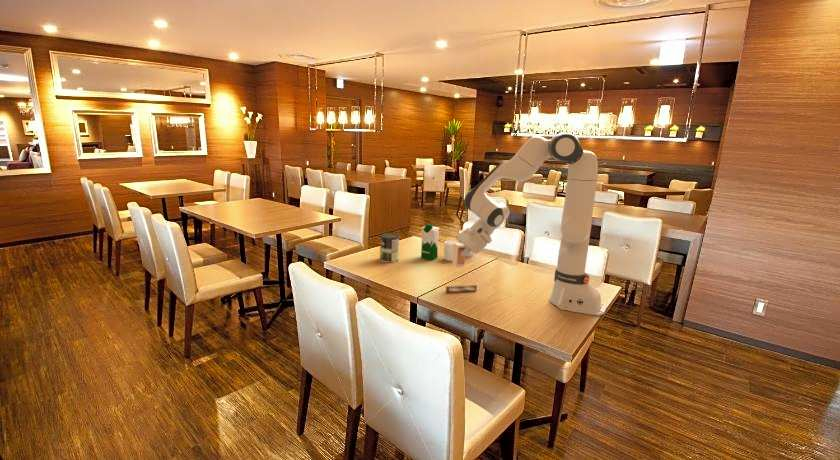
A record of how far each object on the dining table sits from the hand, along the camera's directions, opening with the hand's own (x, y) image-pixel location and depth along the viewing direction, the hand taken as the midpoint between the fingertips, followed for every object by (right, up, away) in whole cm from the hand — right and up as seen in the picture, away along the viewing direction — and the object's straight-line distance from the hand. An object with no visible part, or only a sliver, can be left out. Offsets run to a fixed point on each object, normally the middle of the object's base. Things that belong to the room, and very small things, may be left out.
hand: (458, 252), depth 174 cm
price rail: (+1, -17, -1) cm, 17 cm away
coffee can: (-34, -7, +40) cm, 53 cm away
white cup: (0, -7, +45) cm, 46 cm away
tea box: (0, -6, +2) cm, 6 cm away
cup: (+11, -4, +56) cm, 57 cm away
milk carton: (-12, -6, +46) cm, 48 cm away
